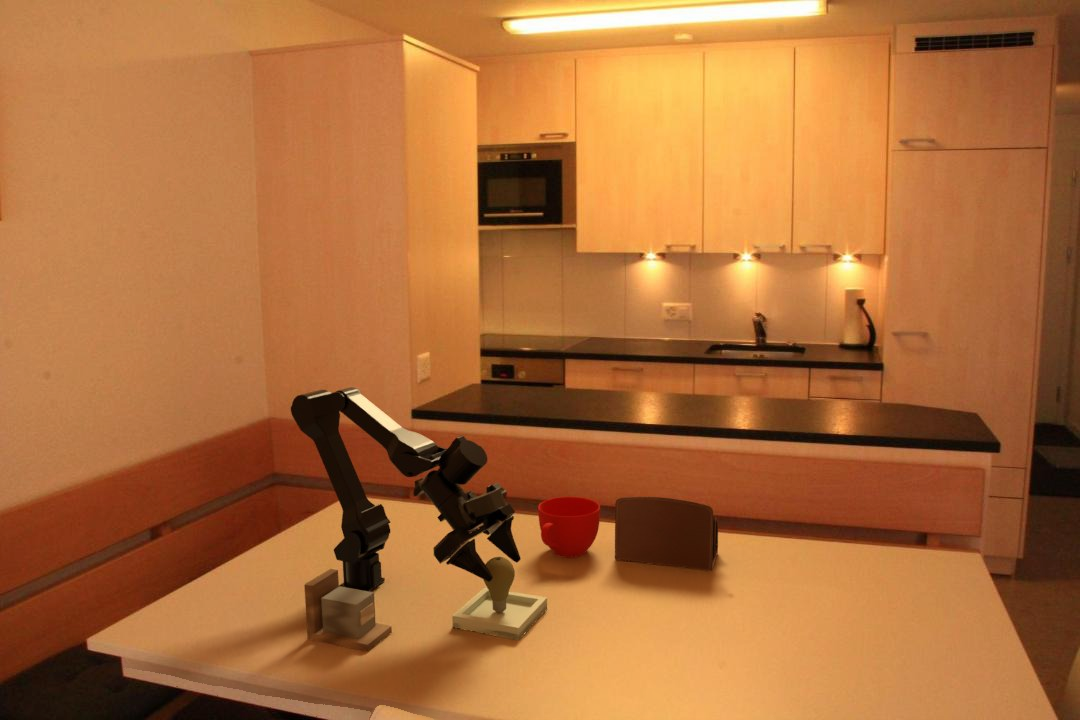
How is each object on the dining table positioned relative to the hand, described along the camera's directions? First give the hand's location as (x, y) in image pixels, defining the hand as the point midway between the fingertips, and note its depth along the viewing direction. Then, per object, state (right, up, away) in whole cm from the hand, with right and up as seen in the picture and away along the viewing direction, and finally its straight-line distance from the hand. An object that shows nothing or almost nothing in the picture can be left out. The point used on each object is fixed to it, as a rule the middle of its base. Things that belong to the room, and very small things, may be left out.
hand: (505, 570), depth 145 cm
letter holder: (+32, -5, +29) cm, 43 cm away
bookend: (-26, -10, -4) cm, 28 cm away
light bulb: (-1, -8, +2) cm, 8 cm away
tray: (-1, -9, +2) cm, 9 cm away
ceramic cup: (+11, -5, +30) cm, 32 cm away
